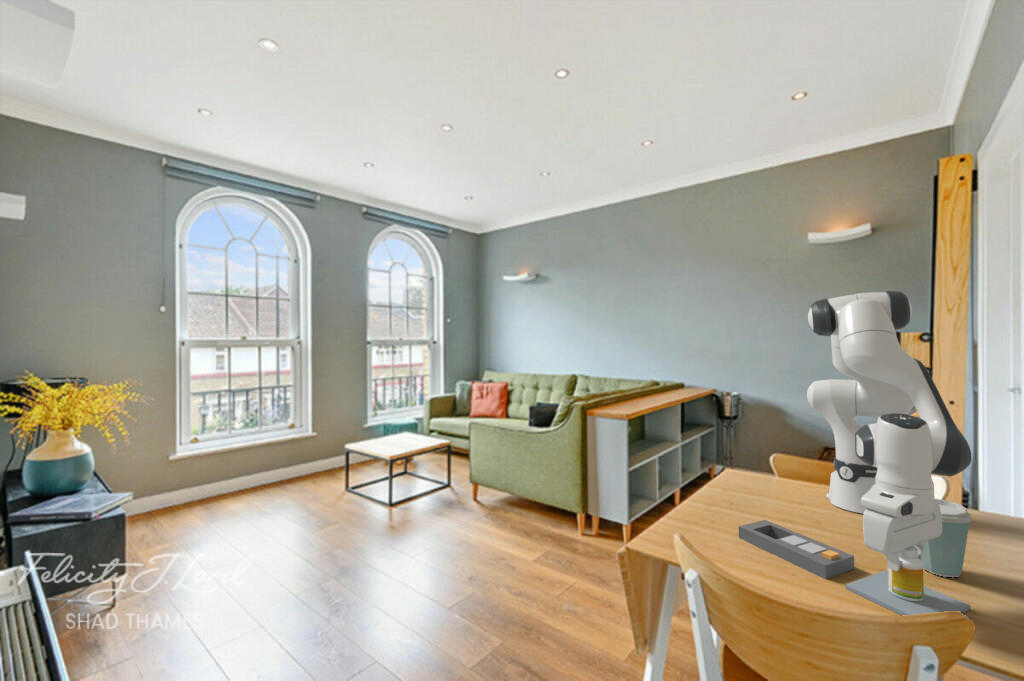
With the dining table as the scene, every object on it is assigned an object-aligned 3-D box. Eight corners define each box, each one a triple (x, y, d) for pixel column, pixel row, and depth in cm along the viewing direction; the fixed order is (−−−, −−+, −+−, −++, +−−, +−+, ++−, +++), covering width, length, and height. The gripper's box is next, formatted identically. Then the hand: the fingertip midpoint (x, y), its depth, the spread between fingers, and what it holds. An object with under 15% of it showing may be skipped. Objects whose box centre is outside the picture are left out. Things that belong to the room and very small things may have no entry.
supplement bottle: (931, 603, 85) (930, 553, 85) (898, 601, 86) (898, 551, 86) (911, 588, 90) (911, 541, 90) (881, 585, 92) (881, 539, 92)
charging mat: (885, 573, 98) (885, 570, 98) (970, 609, 85) (970, 605, 85) (845, 588, 92) (845, 584, 92) (929, 628, 79) (929, 624, 79)
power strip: (765, 530, 120) (765, 516, 120) (854, 569, 100) (854, 552, 100) (738, 537, 116) (738, 523, 116) (825, 579, 96) (825, 561, 96)
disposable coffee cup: (958, 588, 91) (957, 516, 91) (896, 564, 101) (894, 499, 101) (983, 577, 96) (982, 508, 96) (921, 555, 105) (920, 492, 105)
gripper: (914, 484, 95) (915, 548, 95) (855, 499, 87) (856, 568, 87) (952, 493, 89) (953, 561, 89) (893, 510, 82) (894, 584, 82)
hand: (905, 565), depth 88 cm, fingers closed on supplement bottle, 5 cm apart
